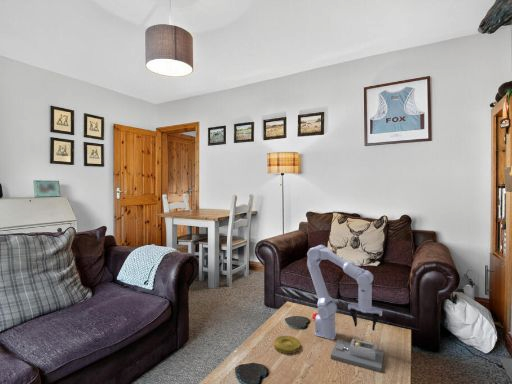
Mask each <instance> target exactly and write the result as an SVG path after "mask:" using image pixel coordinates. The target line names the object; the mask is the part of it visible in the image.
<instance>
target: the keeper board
mask: <svg viewBox="0 0 512 384" xmlns="http://www.w3.org/2000/svg"><path fill="white" fill-rule="evenodd" d="M337 343H338V344H342V345H344V347H347V348H348V350H345V349H343V351H339V350H336V346H337ZM350 344H351V342H350V341H346V340H342V339H338V338H337V340H336V342H335V345H334V347H333V349H332V351H331V354H330V359H333V360H335V361H340V362H343V363H347V364H350V365H355V366H357V367H360V368H363V369H364V368H365V369H368V370H372V371H376V372H379V373H382V368H383V361H384V360H383V359H384V354H385V353H384V350H383V349H380V348H376V359H375V361H373V360H369V359H365V358H361V357H358V356H354V355H350ZM355 345H357V346H360V343H358V342H356V343H355Z"/></svg>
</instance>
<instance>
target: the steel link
mask: <svg viewBox="0 0 512 384" xmlns="http://www.w3.org/2000/svg"><path fill="white" fill-rule="evenodd" d="M356 342H358V343H360V346H357V345H355V343H356ZM376 349H377V344H376V343H372V342H367V341H363V340H360V339H356V338H355V339H354V338H351V344H350V355H354V356H358V357H361V358H365V359H369V360H373V361H375V359H376Z"/></svg>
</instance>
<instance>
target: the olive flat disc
mask: <svg viewBox="0 0 512 384" xmlns="http://www.w3.org/2000/svg"><path fill="white" fill-rule="evenodd" d="M273 344H274V345H273V346H274V348H275V350H276V351H278V352H279V353H280V352H281V354H283V353H286V354H285V355H287V354H293V353H296V352H300V350H301V342H300V340H299V339H298V338H296V337H295V336H291V335H281V336H277V338H275V339H274V341H273Z"/></svg>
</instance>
